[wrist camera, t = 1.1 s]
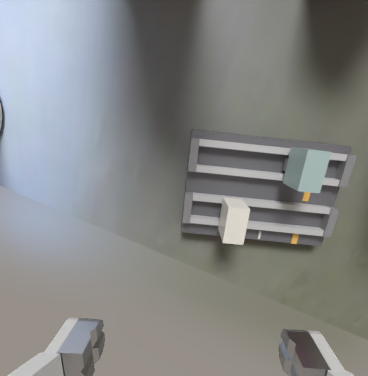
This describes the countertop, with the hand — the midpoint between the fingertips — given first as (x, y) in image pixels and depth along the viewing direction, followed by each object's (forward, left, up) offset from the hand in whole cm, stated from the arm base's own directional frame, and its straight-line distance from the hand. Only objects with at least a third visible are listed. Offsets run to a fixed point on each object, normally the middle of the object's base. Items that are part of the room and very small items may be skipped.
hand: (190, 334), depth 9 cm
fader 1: (+5, -1, -19) cm, 20 cm away
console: (+9, +2, -21) cm, 23 cm away
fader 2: (+12, +6, -19) cm, 23 cm away
